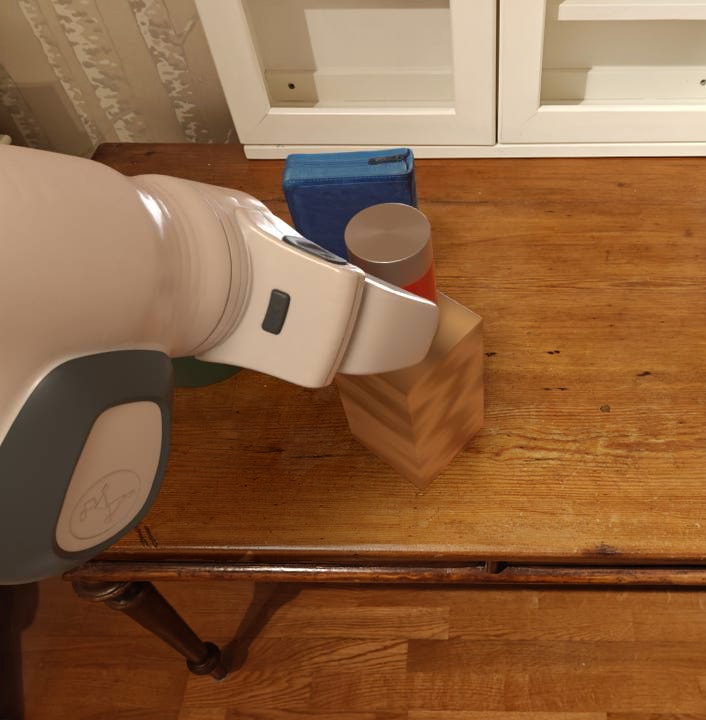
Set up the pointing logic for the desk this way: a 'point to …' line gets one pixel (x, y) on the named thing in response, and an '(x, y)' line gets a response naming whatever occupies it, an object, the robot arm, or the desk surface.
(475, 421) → the block
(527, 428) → the desk surface
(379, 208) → the can
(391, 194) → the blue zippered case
